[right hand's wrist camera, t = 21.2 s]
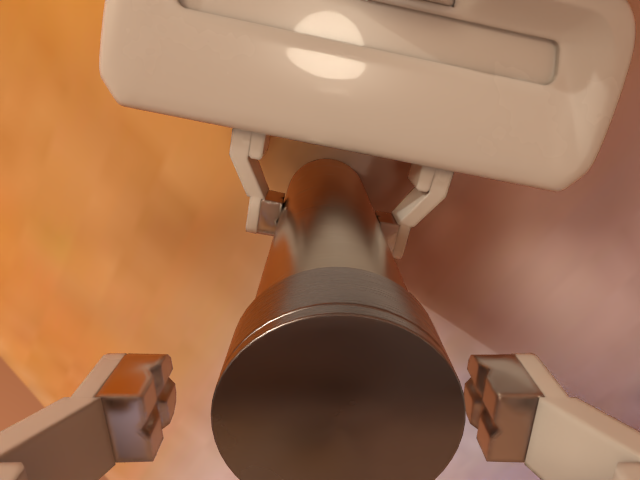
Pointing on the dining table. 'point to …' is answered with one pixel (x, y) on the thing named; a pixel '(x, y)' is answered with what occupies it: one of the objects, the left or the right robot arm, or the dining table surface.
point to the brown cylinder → (327, 226)
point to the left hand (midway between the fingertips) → (324, 242)
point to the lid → (337, 384)
